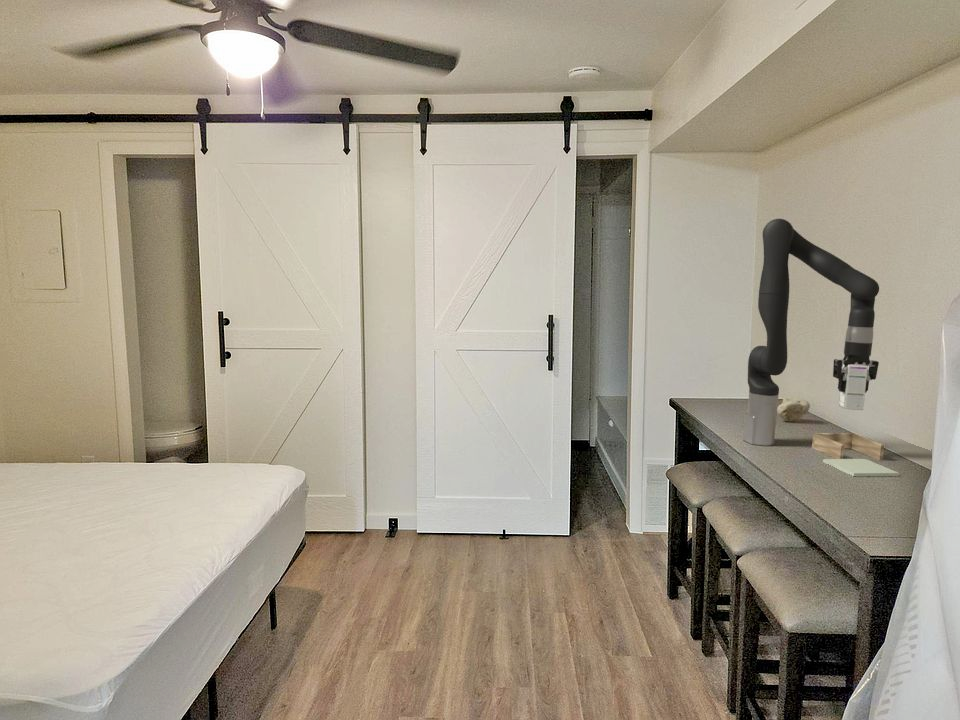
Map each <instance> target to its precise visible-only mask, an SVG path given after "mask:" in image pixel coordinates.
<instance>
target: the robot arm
mask: <svg viewBox="0 0 960 720" xmlns="http://www.w3.org/2000/svg"><path fill="white" fill-rule="evenodd" d="M762 244H763V245H762V246H763V263H762V270H761V276H760V279H759V281H760V282H759V290H758V299H757V300H758V301H757V307H758V312H759V315H760V318H761V321H762V324H763V325H764V327H765V331H766V345H757V346H755V347H754V348H753V349H751V351H750V353H749V356H748V360H747V361H748V362H747V385H748V387H749V388H748V389H749V391H748V401H747V412H746V413H744V420H743V432H742V440H743V441H744V442H746V443H747V444H750V445H757V446H774V445H775V439H776V438H775V437H776V436H775V435H776V427H777V418H778V417H777V415H778V413H777V408H778V406H779V395H780V394H779V393H780V387H779V385H778V384H777V383H775V381H774V380H773V378H772V376H779V375H782V374H783V372H784V371H785V369H786V368H787V364H788V336H787V335H788V334H787V331H788V329H787V328H788V313H789V312H788V311H789V302H790V301H789V299H790V274H789V258H790V255H791V256H793V257H794V258H797V259H798V260H800V261H802V263H804V264H805V265H807V266H808V267H809V268H811V269H812V270H814V272H815V273H818V275H821V276H822V277H824V278H825V279H827V280H829V281H830V282H831V283H834V284H835V285H837V286H839V287H842V288H843V289H844V290H845V291H847V292H849V293H850V309H849V310H850V311H849V314H848V315H849V316H848V322H847V329H846V333H845V337H844V338H845V340H844V349H843V355H844V357H843V359H838V358H834V359H833V369H832V377H833V378H835V379H837V380H838V382H837V383H838V384H837V390H838V391H839V392H845V389H846V381H845V380H846V379H847V374H848V371H845V367H846V366H848V365H851V364H853V365H858V364H861V365H866V366H868V369H867V379H866V389H865V394H866V393H867V392H868V391H869V385H870V381H874V380H876V379H877V374H878V369H879V364H880V363H879V361H877V360H870V357H871V356H872V350H873V349H872V348H873V343H874V342H873V340H874V327H875V326H874V324H875V317H876V315H875V309H874V308H875V304H876V303H875V301H876V297H877V296H878V294H879V292H880V285H879V284H878V282H877V281H876V280H875V279H873V277H870V276H868V275H867V274H865V273H863V272H861V271H860V270H858V269H856V268H855V267H853V266H851V265H850V264H849V263H847V262H845V261H844V260H842V259H841V258H839V257H838V256H836V255H834V254H833V253H830V251H827V250H825V249H823V248H822V247H819V246H818V245H816V244H815V243H813V242H811V241H809V240H807V239H806V238H805V237H804V236H803V235H802V234H800V233H799V232H798V231H797V230H796V229H794V227H793V225H792V224H791V222H789V221H788V220H787V219H784V218H775V219H772V220H770V221H769V222H767V223H766V225H765V226H764V227H763V230H762ZM843 364H844V367H843Z"/></svg>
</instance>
